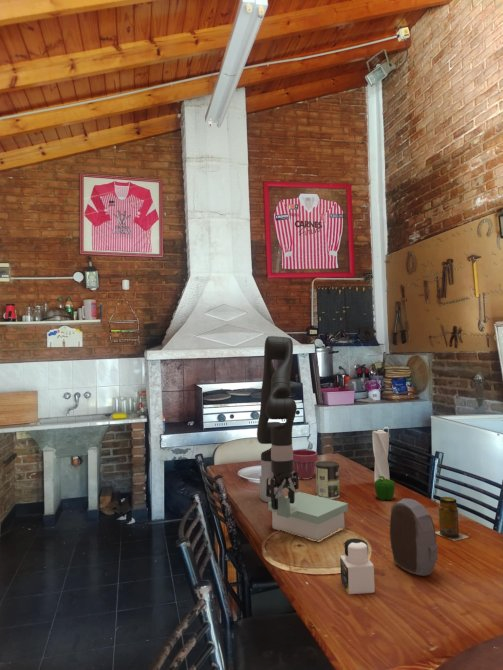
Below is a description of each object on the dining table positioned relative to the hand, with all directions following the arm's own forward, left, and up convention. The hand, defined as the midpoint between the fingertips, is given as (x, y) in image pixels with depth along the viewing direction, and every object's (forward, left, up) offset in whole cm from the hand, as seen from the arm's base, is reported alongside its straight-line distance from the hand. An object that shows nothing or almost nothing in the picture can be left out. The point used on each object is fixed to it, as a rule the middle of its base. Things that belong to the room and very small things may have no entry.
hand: (283, 506), depth 155 cm
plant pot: (-44, +69, -12) cm, 82 cm away
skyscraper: (-5, +78, -11) cm, 78 cm away
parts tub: (0, +14, -11) cm, 18 cm away
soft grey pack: (+42, +9, -11) cm, 44 cm away
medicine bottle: (+35, -11, -12) cm, 39 cm away
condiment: (+40, +41, -12) cm, 58 cm away
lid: (0, +11, -5) cm, 12 cm away
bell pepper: (+4, +63, -12) cm, 64 cm away
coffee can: (-17, +51, -12) cm, 54 cm away
